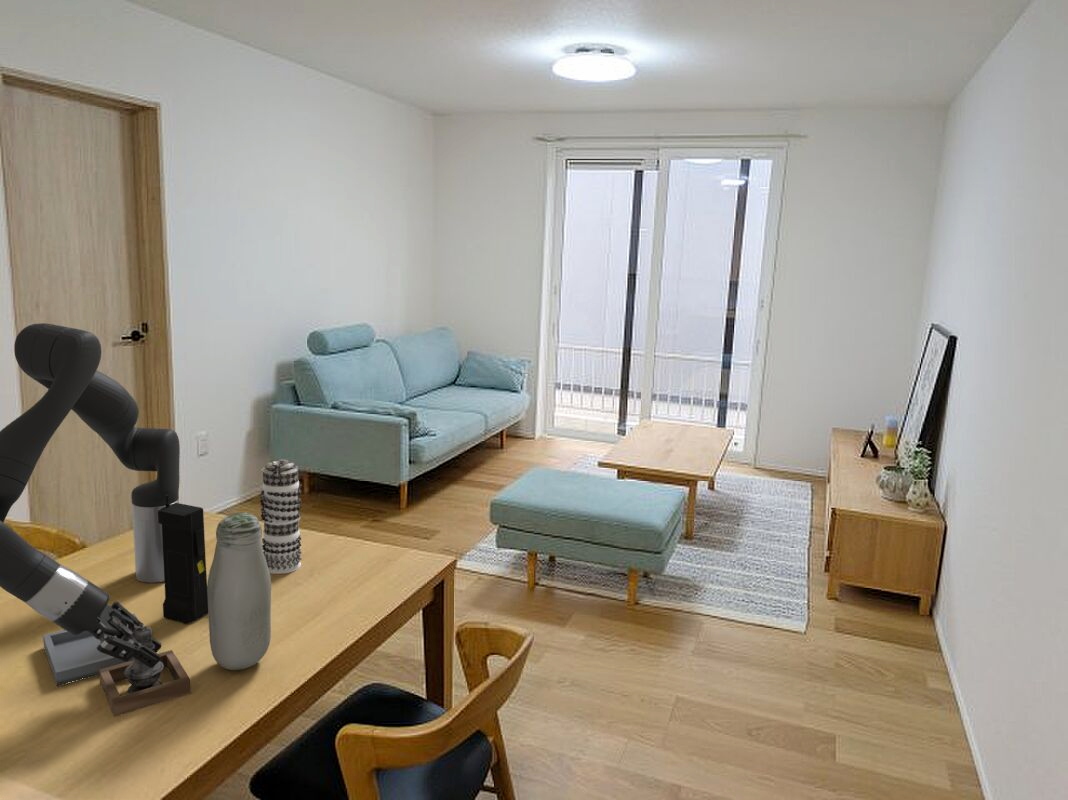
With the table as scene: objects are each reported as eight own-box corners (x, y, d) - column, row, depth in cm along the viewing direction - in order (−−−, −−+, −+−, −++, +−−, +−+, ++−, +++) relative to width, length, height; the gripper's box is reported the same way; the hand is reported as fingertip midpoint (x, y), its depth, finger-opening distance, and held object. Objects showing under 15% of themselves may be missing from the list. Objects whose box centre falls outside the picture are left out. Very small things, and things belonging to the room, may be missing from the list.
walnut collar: (99, 683, 129) (99, 669, 129) (172, 662, 136) (171, 649, 136) (114, 716, 121) (113, 702, 120) (191, 693, 128) (190, 679, 127)
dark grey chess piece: (148, 700, 125) (145, 633, 123) (117, 695, 126) (112, 628, 124) (172, 681, 131) (169, 616, 128) (141, 676, 132) (138, 611, 130)
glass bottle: (236, 686, 131) (232, 530, 125) (199, 666, 136) (193, 516, 130) (283, 661, 139) (281, 514, 133) (246, 643, 144) (242, 501, 138)
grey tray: (44, 647, 139) (42, 635, 139) (135, 625, 149) (134, 613, 148) (57, 686, 128) (56, 672, 127) (154, 659, 137) (154, 646, 137)
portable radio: (216, 613, 155) (211, 494, 150) (193, 626, 149) (188, 504, 144) (184, 605, 157) (179, 488, 152) (161, 618, 152) (155, 497, 147)
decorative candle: (311, 564, 180) (310, 462, 175) (279, 578, 172) (277, 470, 167) (285, 555, 184) (283, 454, 179) (252, 567, 177) (250, 462, 172)
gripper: (80, 600, 115) (173, 660, 123) (90, 563, 128) (174, 619, 135) (41, 638, 114) (138, 696, 121) (55, 597, 127) (142, 652, 134)
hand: (156, 655), depth 128 cm, fingers closed on dark grey chess piece, 3 cm apart
